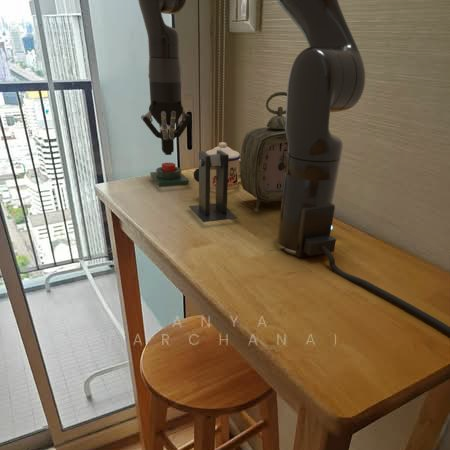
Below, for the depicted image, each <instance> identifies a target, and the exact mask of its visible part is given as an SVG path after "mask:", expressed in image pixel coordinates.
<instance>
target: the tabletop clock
mask: <svg viewBox="0 0 450 450" xmlns="http://www.w3.org/2000/svg"><path fill="white" fill-rule="evenodd" d="M279 96H281V97H283V96H286V97H287V91H277V92H274V93H272V94H271V95H269V96H268V97H267V100H266V101H265V108H266V110H267V111H268V112H269V113H271V114H273V115H274V116H272V117H270V118H269V120H268V122H267V124H266V126H264V127H259V128H253V129H251V130H249V131H247V132H246V133H245V136H244V137H243V140H242V144H241V153H240V159H241V160H240V162H239V172H240V173H239V175H240V177H241V178H240V184H241V187H242V189H243V190H244V191H245V192H246V193H248V194H249V195H251V196H253V197H254V198H256V204H255V207H254V208H253V209H252V212H254V213H259V212H260V209H259V207H260V204H261V202H264V203H266V204H267V203H270V202H282V194H283V185H284V176H285V168H286V159H287V148H288V144H287V139H286V134H285V123H286V116H284V115H286V109H283V106H278V108H277V110H274V109H271V108H270V107H269V102H270V101H271V100H272V99H273V98H275V97H279Z"/></svg>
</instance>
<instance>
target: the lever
mask: <svg viewBox="0 0 450 450" xmlns="http://www.w3.org/2000/svg"><path fill="white" fill-rule="evenodd" d="M209 156H210V170H216V169H218V168H219V167H220V166H221V160H220V154H211V155H209ZM193 179H194V180H195V182H197V183H199V167H198V168H196V169H195V170H194V171H193Z"/></svg>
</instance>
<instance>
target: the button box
mask: <svg viewBox="0 0 450 450" xmlns="http://www.w3.org/2000/svg"><path fill="white" fill-rule="evenodd" d="M175 167H176V171H172V172H165V171H162V166H159V167H157V168H156V169H155V171H150V173H149V175H150V178H151V179H152V180H153V181H154V183H155V184H156V185H157V187H159V188H165V187H176V186H187V185H189V186H190V179H188V178H187V177H186V176H185V175H184V174H183V173H182V168H180V167H178V166H175Z"/></svg>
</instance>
